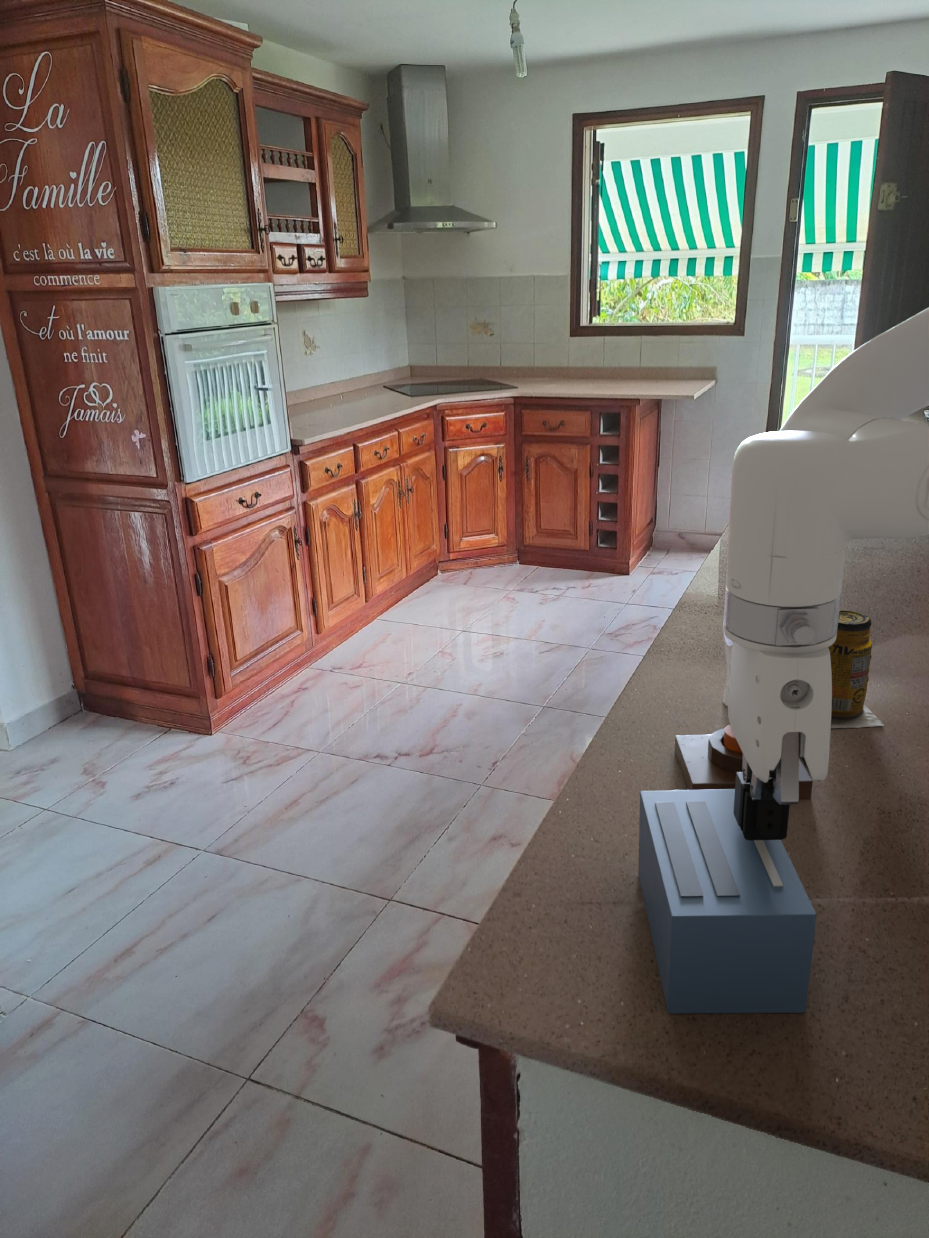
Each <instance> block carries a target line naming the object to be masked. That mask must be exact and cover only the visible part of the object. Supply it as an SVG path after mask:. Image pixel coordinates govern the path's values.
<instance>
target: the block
mask: <svg viewBox="0 0 929 1238" xmlns="http://www.w3.org/2000/svg"><path fill="white" fill-rule="evenodd" d="M724 729H725V727H724V728H721V729H718V730H715V731H713V732H712V733H711V734H687V735H686V734H685V735H675V737H674V755H675V757H676V760H677V763H678V766H679V770H680V772H681V775H682V778H683V781H684V784H685V786H686V790H711V789H735V782H736V772H742V765H743V753H740V752H736V751H732V750H729V749H727V748H726V747H724ZM813 781H814V780H812V779H811V777H810V775H809V774H808V772H807V770H806V769H805V767H804V765H803V764H802V762H801V760H800V759H799V800H800V801H801V800H811V799H812V792H813Z"/></svg>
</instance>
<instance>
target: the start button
mask: <svg viewBox="0 0 929 1238" xmlns="http://www.w3.org/2000/svg"><path fill="white" fill-rule="evenodd" d="M724 728H725V729H724ZM724 728H723V729H724V747H726V748H727V749H729V750H732V751H736V752H740V753H743V752H742V750H741V748H740V746H739V744H738V742H737V740H736V738H735V735H734V733H733V731H732V729H731V726H730V724H728V725H726V726H725V727H724Z"/></svg>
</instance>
